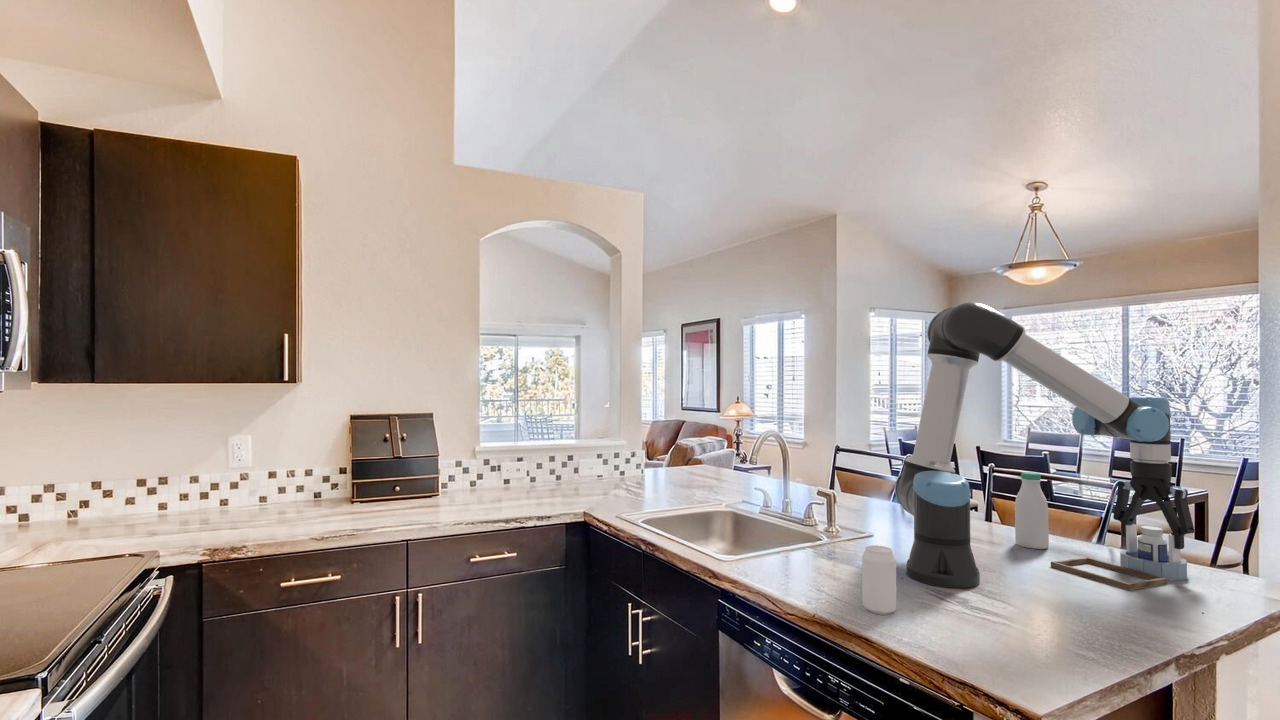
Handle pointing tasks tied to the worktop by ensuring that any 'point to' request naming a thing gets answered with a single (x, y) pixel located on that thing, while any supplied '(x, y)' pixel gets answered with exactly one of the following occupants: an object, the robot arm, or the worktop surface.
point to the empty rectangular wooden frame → (1151, 581)
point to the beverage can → (879, 580)
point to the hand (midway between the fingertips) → (1152, 556)
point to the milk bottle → (1031, 513)
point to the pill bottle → (1152, 545)
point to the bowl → (1155, 566)
